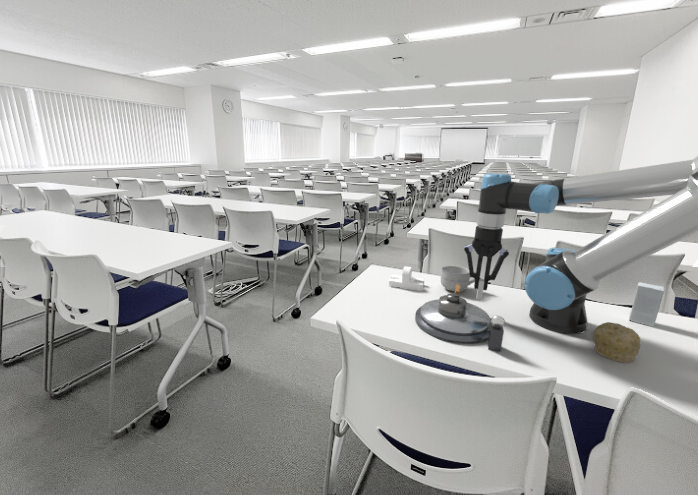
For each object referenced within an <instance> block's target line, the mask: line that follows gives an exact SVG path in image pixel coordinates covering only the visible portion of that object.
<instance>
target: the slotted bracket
mask: <svg viewBox="0 0 698 495" xmlns="http://www.w3.org/2000/svg"><path fill="white" fill-rule="evenodd" d="M412 272H413V267H412V266H403V269H402V275H398V274H391V275H390V278H388V287H390V286H394V287H393V288H396V287H400V288H399V289H403V288H404V289H405V290H412V291H418V292H422V291H423V288H424V286H425V278H421V277H413V276H412V275H413V273H412ZM404 289H403V290H404Z"/></svg>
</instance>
